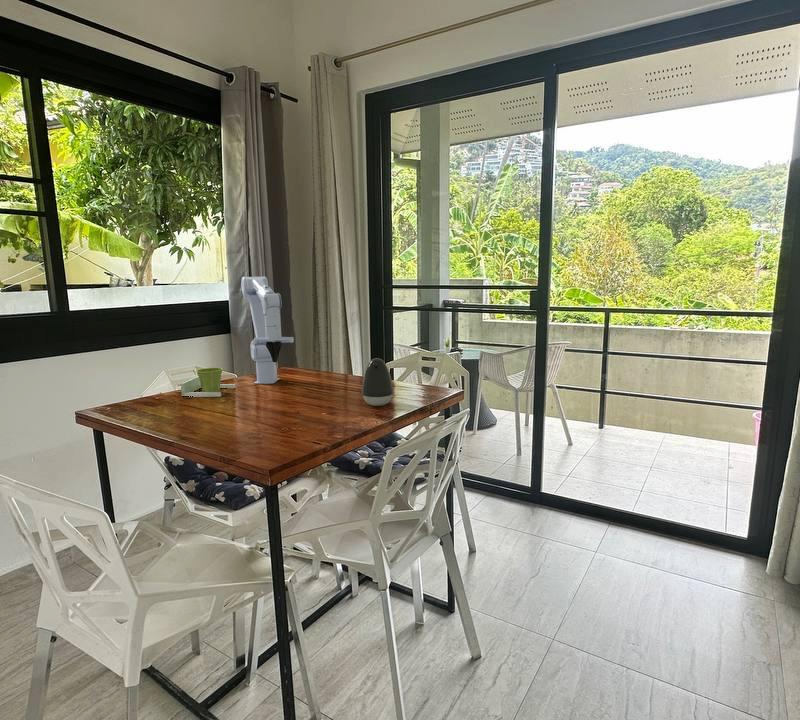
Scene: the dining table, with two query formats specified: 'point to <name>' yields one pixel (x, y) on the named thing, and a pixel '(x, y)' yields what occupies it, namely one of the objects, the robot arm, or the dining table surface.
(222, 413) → the dining table surface
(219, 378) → the plant pot
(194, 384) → the display bay
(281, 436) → the dining table surface
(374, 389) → the dark grey egg shape
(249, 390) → the dining table surface
